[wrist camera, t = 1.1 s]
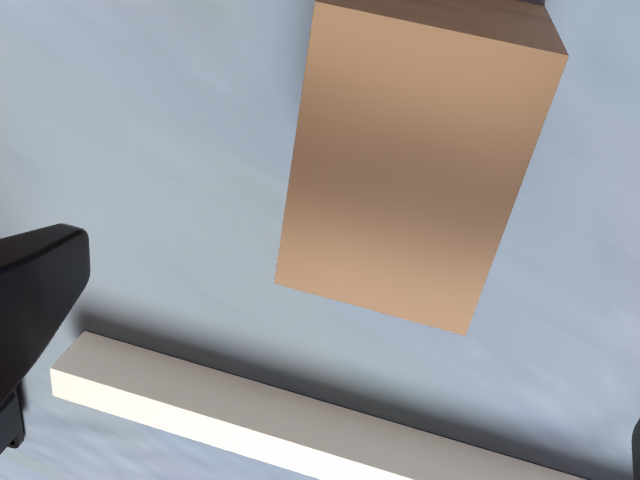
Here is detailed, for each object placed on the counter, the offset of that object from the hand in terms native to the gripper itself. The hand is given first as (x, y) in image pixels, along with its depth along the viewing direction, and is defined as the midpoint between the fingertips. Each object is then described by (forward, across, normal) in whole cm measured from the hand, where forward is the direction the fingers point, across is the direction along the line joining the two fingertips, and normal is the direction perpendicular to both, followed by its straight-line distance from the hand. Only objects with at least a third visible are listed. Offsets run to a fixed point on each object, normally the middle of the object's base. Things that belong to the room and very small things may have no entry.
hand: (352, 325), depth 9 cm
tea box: (+11, 0, 0) cm, 11 cm away
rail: (+11, 0, +14) cm, 18 cm away
